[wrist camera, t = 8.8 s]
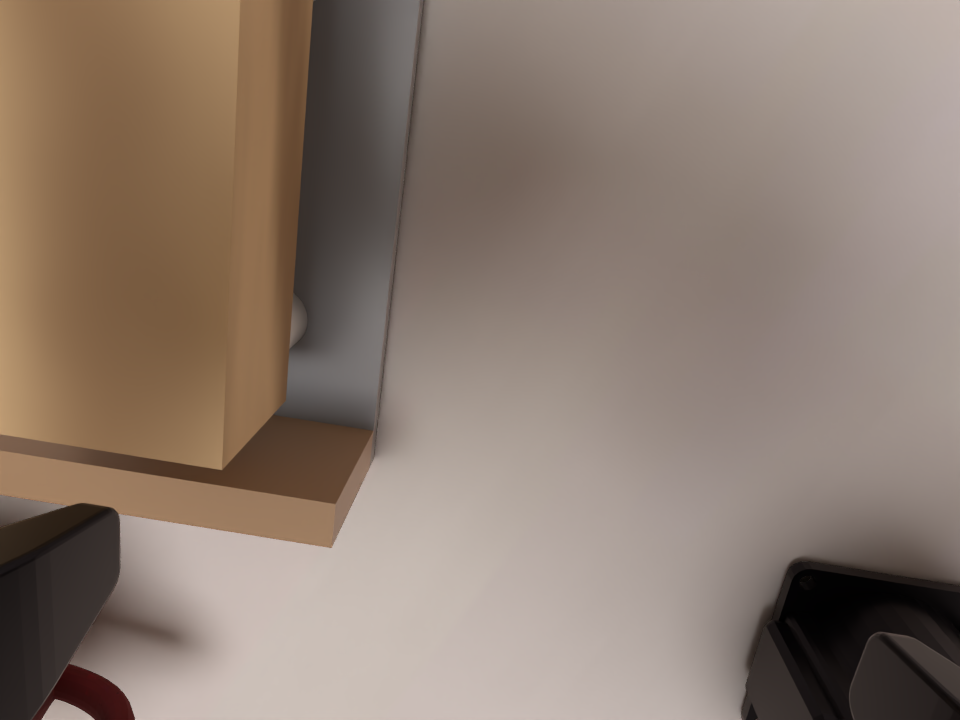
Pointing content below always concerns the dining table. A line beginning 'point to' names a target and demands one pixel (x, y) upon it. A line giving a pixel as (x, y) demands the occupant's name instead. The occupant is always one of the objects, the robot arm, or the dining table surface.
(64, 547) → the robot arm
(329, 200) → the peg stand
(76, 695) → the mug
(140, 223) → the tan wooden block
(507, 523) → the dining table surface
